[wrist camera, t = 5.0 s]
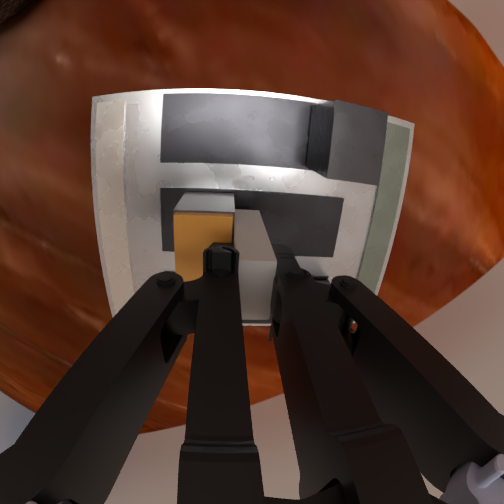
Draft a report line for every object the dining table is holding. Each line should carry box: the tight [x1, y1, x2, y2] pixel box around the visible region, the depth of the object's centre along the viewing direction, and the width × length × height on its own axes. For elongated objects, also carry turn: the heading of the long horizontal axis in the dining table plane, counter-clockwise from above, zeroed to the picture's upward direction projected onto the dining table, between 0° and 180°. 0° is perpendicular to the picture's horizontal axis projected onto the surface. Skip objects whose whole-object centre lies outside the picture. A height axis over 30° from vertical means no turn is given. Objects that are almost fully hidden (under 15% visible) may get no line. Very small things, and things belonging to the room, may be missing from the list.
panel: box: [91, 89, 414, 326], centre depth 17 cm, size 22×17×6 cm
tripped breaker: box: [173, 192, 235, 282], centre depth 16 cm, size 3×4×4 cm
